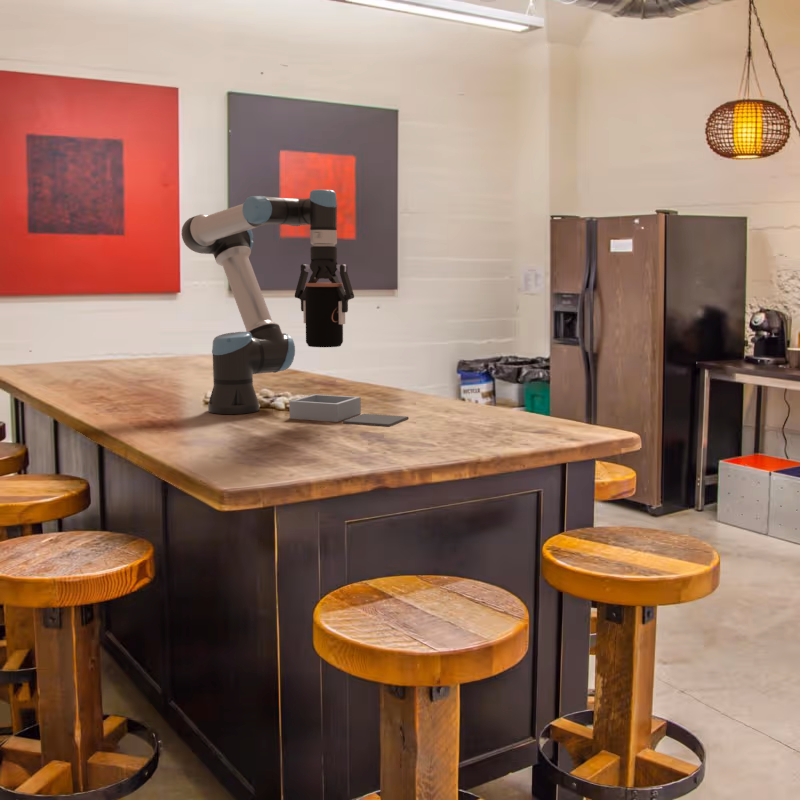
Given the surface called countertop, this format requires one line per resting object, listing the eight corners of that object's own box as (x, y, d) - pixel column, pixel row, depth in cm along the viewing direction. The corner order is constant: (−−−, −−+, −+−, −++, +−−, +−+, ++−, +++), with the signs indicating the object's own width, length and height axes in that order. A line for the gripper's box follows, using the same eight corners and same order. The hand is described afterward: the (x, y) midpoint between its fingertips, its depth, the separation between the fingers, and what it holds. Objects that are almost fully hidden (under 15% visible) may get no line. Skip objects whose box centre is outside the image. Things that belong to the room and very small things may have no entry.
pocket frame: (289, 418, 263) (289, 401, 263) (314, 410, 278) (314, 394, 277) (337, 421, 258) (337, 404, 257) (360, 413, 272) (360, 397, 271)
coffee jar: (337, 347, 258) (337, 283, 256) (301, 347, 261) (300, 283, 258) (347, 344, 269) (346, 282, 266) (312, 343, 271) (311, 282, 268)
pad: (343, 423, 256) (343, 421, 255) (364, 415, 268) (364, 413, 268) (389, 426, 250) (389, 424, 250) (408, 418, 263) (408, 416, 263)
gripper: (281, 245, 261) (282, 323, 265) (354, 245, 253) (355, 325, 256) (294, 246, 268) (295, 321, 272) (366, 245, 260) (366, 323, 263)
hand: (324, 323), depth 264 cm, fingers closed on coffee jar, 11 cm apart
